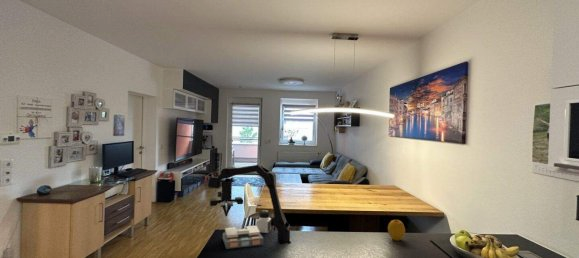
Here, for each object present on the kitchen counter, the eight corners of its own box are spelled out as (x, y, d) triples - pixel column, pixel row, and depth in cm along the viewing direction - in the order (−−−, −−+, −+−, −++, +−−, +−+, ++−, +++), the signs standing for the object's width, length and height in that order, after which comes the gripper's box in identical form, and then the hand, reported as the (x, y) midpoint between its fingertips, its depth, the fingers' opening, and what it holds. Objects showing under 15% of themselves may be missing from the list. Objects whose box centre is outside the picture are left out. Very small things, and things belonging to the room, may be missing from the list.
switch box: (257, 235, 180) (257, 229, 180) (263, 244, 166) (263, 238, 166) (222, 239, 173) (222, 232, 173) (226, 249, 160) (226, 242, 159)
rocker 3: (256, 229, 178) (256, 225, 178) (259, 236, 171) (259, 231, 170) (246, 230, 176) (246, 226, 176) (248, 237, 169) (249, 232, 168)
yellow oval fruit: (390, 235, 186) (391, 216, 186) (406, 239, 181) (407, 219, 180) (385, 239, 178) (385, 220, 178) (402, 244, 173) (402, 223, 173)
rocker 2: (246, 233, 175) (246, 228, 176) (249, 234, 168) (249, 230, 168) (235, 234, 173) (235, 229, 174) (238, 236, 166) (238, 231, 166)
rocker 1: (235, 231, 174) (235, 227, 174) (238, 238, 167) (238, 234, 166) (225, 232, 172) (225, 228, 172) (227, 239, 164) (227, 235, 164)
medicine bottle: (267, 233, 184) (268, 213, 184) (256, 232, 186) (257, 212, 185) (271, 229, 191) (271, 210, 191) (260, 228, 193) (260, 209, 192)
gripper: (240, 185, 187) (239, 211, 187) (208, 187, 180) (208, 213, 181) (243, 189, 176) (243, 216, 176) (210, 191, 170) (209, 219, 170)
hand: (226, 216), depth 176 cm, fingers closed
